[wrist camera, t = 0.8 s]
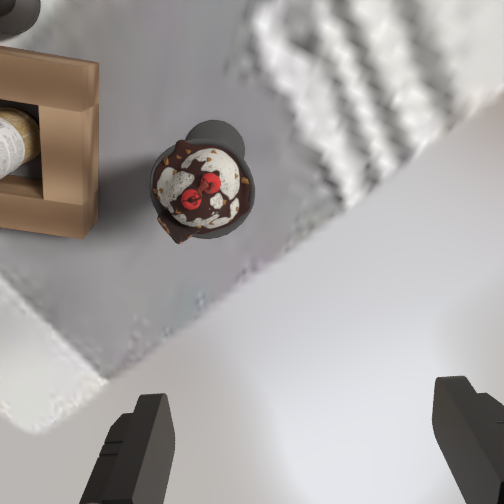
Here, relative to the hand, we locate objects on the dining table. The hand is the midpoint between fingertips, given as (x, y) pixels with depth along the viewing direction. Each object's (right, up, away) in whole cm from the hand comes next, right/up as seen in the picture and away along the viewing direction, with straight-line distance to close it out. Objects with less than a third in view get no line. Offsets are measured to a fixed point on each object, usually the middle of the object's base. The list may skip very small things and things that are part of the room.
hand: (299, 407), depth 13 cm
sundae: (-5, +13, +24) cm, 28 cm away
